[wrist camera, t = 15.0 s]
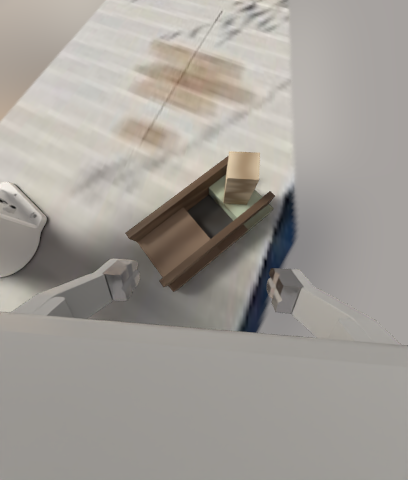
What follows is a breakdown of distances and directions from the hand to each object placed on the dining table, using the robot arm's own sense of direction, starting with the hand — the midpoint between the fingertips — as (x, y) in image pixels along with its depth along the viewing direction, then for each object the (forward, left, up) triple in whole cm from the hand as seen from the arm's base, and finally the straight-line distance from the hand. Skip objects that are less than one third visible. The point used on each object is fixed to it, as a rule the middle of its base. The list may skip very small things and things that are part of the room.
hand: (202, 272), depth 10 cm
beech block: (-9, +14, -18) cm, 24 cm away
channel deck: (-9, +5, -21) cm, 23 cm away
